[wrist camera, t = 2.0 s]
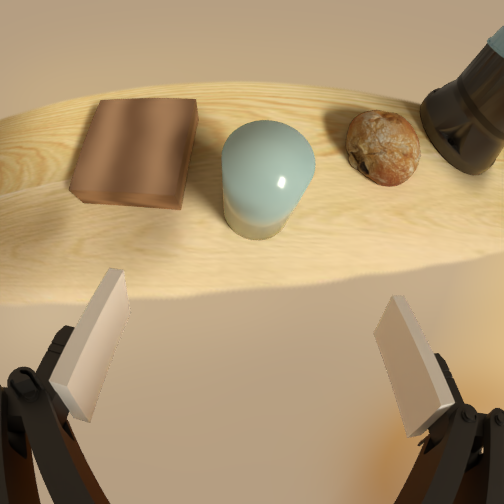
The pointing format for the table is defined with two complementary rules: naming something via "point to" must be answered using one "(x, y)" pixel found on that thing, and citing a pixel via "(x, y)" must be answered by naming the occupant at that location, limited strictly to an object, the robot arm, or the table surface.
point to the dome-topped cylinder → (264, 177)
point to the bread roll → (383, 147)
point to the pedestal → (137, 153)
